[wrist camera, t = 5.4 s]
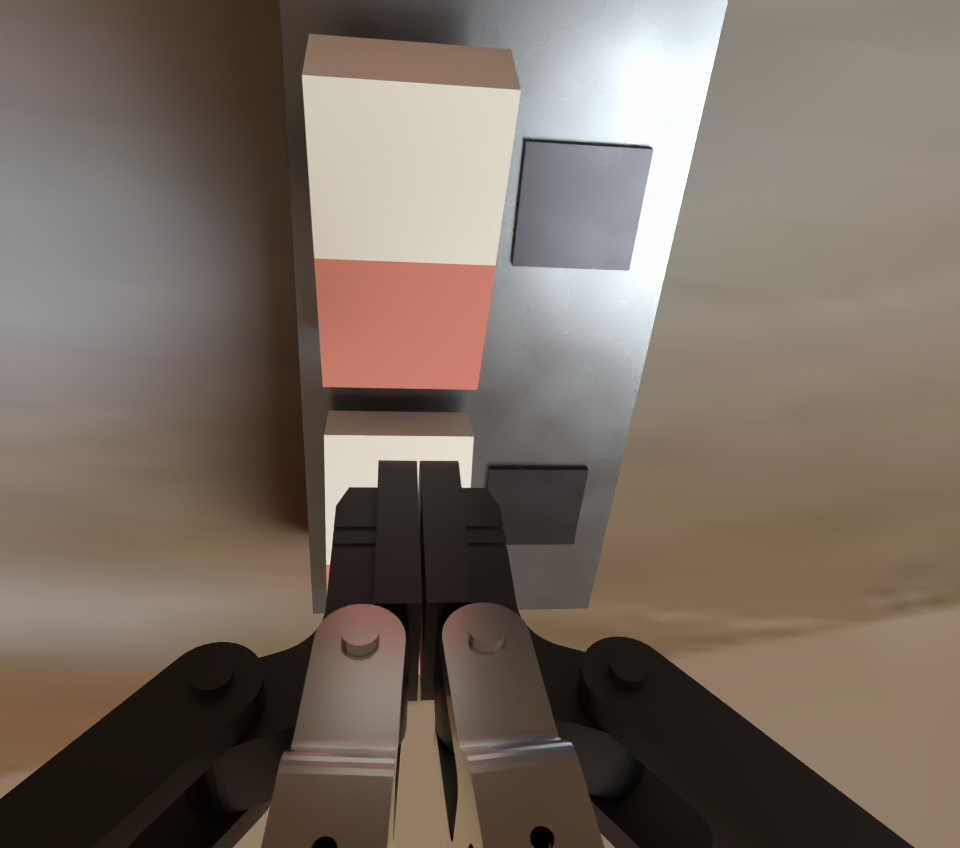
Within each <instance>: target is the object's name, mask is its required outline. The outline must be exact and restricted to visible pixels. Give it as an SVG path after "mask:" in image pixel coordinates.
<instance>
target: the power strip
mask: <svg viewBox="0 0 960 848" xmlns="http://www.w3.org/2000/svg"><path fill="white" fill-rule="evenodd" d="M279 2H280V20H281V38H282V56H283V74H284V92H285V111H286V129H287V147H288V165H289V183H290V201H291V219H292V238H293V256H294V274H295V292H296V310H297V328H298V347H299V365H300V383H301V401H302V419H303V437H304V456H305V474H306V492H307V510H308V528H309V546H310V565H311V583H312V601H313V613H325V610H326V600H327V583H326V524H325V465H324V432H325V427H326V422H327V416H328V411H392V412H461V413H467V414H468V417H469V421H470V425H471V428H472V432H473V436H474V441H473V457H472V474H471V488H486V489H487V490H488V491H489V493H490V494H491V495H492V496H493V498H494V499H495V500H496V502H497V503H498V504H499V505H500V509H501V515H502V521H503V530H504V533H505V538H506V547H507V550H508V556H509V562H510V568H511V573H512V579H513V585H514V591H515V597H516V603H517V608H518V610H522V609H575V608H588V605H589V600H590V596H591V592H592V587H593V583H594V579H595V574H596V570H597V566H598V561H599V557H600V553H601V548H602V544H603V540H604V535H605V531H606V527H607V522H608V518H609V514H610V509H611V505H612V501H613V496H614V492H615V488H616V483H617V479H618V475H619V470H620V466H621V462H622V457H623V453H624V449H625V444H626V440H627V436H628V431H629V427H630V423H631V418H632V414H633V410H634V405H635V401H636V397H637V392H638V388H639V384H640V379H641V375H642V371H643V366H644V362H645V358H646V353H647V349H648V345H649V340H650V336H651V332H652V327H653V323H654V319H655V314H656V310H657V306H658V301H659V297H660V293H661V288H662V284H663V280H664V275H665V271H666V267H667V262H668V258H669V254H670V250H671V245H672V241H673V237H674V232H675V228H676V224H677V219H678V215H679V211H680V206H681V202H682V198H683V193H684V189H685V185H686V180H687V176H688V172H689V167H690V163H691V159H692V154H693V150H694V146H695V141H696V137H697V133H698V128H699V124H700V120H701V115H702V111H703V107H704V102H705V98H706V94H707V89H708V85H709V81H710V76H711V72H712V68H713V63H714V59H715V55H716V50H717V46H718V42H719V37H720V33H721V29H722V24H723V20H724V16H725V11H726V7H727V3H728V0H279ZM309 34H318V35H332V36H345V37H358V38H371V39H384V40H397V41H410V42H423V43H436V44H449V45H462V46H476V47H489V48H502V49H511V51H512V55H513V59H514V63H515V67H516V72H517V76H518V80H519V84H520V88H521V94H520V101H519V107H518V114H517V121H516V128H515V135H514V142H513V149H512V155H511V162H510V169H509V176H508V183H507V190H506V197H505V204H504V210H503V217H502V224H501V231H500V238H499V245H498V252H497V258H496V265H495V272H494V279H493V286H492V293H491V300H490V306H489V313H488V320H487V327H486V334H485V341H484V348H483V355H482V361H481V368H480V375H479V382H478V389H477V390H460V389H406V388H352V387H323V383H322V368H321V353H320V338H319V323H318V308H317V293H316V278H315V263H314V248H313V233H312V218H311V204H310V189H309V174H308V159H307V144H306V129H305V114H304V99H303V84H302V71H303V66H304V60H305V54H306V48H307V42H308V37H309Z"/></svg>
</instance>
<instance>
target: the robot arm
mask: <svg viewBox="0 0 960 848" xmlns="http://www.w3.org/2000/svg"><path fill="white" fill-rule="evenodd" d="M419 653H420V685H421V700H434V704H435V733H434V749H435V757H436V765H437V772H438V780H439V788H440V796H441V804H442V812H443V820H444V828H445V835H446V844H447V848H605V847H604V844H603V840H602V837H601V834H602V835H603V836H604V837H605V838H606V839H607V840H609V842H610V843H611V844H612V845H613V846H614V847H615V848H914V847H913V846H911V845H910V844H909V843H907V842H906V841H905V840H903V839H902V838H901V837H899V836H898V835H897V834H896V833H894V832H893V831H892V830H890V829H889V828H888V827H886V826H885V825H884V824H883V823H881V822H880V821H879V820H877V819H876V818H875V817H873V816H872V815H871V814H869V813H868V812H867V811H865V810H864V809H863V808H861V807H860V806H859V805H857V804H856V803H855V802H854V801H852V800H851V799H850V798H848V797H847V796H846V795H844V794H843V793H842V792H841V791H839V790H838V789H837V788H835V787H834V786H833V785H831V784H830V783H829V782H827V781H826V780H825V779H824V778H822V777H821V776H820V775H818V774H817V773H816V772H814V771H813V770H812V769H810V768H809V767H808V766H806V765H805V764H804V763H803V762H801V761H800V760H798V759H797V758H796V757H795V756H793V755H792V754H791V753H789V752H788V751H786V749H784V748H783V747H781V746H780V745H779V744H778V743H776V742H775V741H774V740H772V739H771V738H770V737H768V736H767V735H765V733H763V732H762V731H761V730H759V729H758V728H757V727H755V726H754V725H753V724H751V723H750V722H749V721H747V720H746V719H745V718H743V717H742V716H741V715H740V714H738V713H737V712H736V711H734V710H733V709H732V708H730V707H729V706H728V705H726V704H725V703H724V702H722V701H721V700H720V699H719V698H717V697H716V696H715V695H713V694H712V693H710V692H709V691H708V690H707V689H706V688H704V687H703V686H702V685H700V684H699V683H698V682H696V681H695V680H694V679H692V678H691V677H690V676H688V675H687V674H686V673H684V672H683V671H682V670H681V669H679V668H678V667H677V666H675V665H674V664H673V663H671V662H670V661H669V660H667V659H666V658H665V657H664V656H662V655H661V654H660V653H658V652H657V651H656V650H654V649H653V648H651V647H650V646H648V645H647V644H645V643H643V642H641V641H638V640H635V639H631V638H627V637H609V638H604V639H601V640H599V641H597V642H595V643H594V644H592V645H591V646H590V647H589V648H588V649H587V651H586V652H583V651H579V650H575V649H571V648H568V647H564V646H560V645H557V644H554V643H551V642H549V641H547V640H545V639H543V638H541V637H540V636H538V635H537V634H535V633H534V632H533V631H532V630H531V629H530V628H529V627H528V626H527V625H526V624H525V622H524V621H523V620H522V618H521V616H520V614H519V611H518V608H517V603H516V597H515V591H514V585H513V579H512V573H511V568H510V562H509V556H508V550H507V547H506V538H505V533H504V530H503V521H502V515H501V509H500V505H499V504H498V503H497V502H496V500H495V499H494V498H493V496H492V495H491V494H490V493H489V491H488V490H487V489H486V488H462V487H461V478H460V469H459V462H458V461H420V464H419V485H418V475H417V461H398V460H378V487H349V488H348V490H347V491H346V493H345V494H344V495H343V497H342V498H341V499H340V501H339V502H338V504H337V505H336V510H335V520H334V531H333V540H332V550H331V560H330V570H329V580H328V590H327V600H326V610H325V614H324V617H323V620H322V622H321V623H320V625H319V627H318V628H317V629H316V631H315V632H314V633H313V634H312V635H311V636H310V637H308V638H307V639H306V640H305V641H303V642H301V643H300V644H298V645H296V646H294V647H292V648H290V649H287V650H284V651H281V652H278V653H274V654H271V655H267V656H264V657H261V658H258V657H257V656H256V654H255V653H253V652H252V651H251V650H250V649H248V648H246V647H244V646H242V645H239V644H236V643H230V642H216V643H210V644H205V645H202V646H199V647H196V648H194V649H192V650H190V651H188V652H187V653H185V654H184V655H182V656H181V657H179V658H178V659H177V660H176V661H174V662H173V663H172V664H170V665H169V666H168V667H167V668H165V669H164V670H163V671H162V672H160V673H159V674H158V675H157V676H155V677H154V678H153V679H151V680H150V681H149V682H148V683H146V684H145V685H144V686H143V687H141V688H140V689H139V690H138V691H136V692H135V693H134V694H132V695H131V696H130V697H129V698H127V699H126V700H125V701H124V702H122V703H121V704H120V705H119V706H117V707H116V708H115V709H114V710H112V711H111V712H110V713H108V714H107V715H106V716H105V717H103V718H102V719H101V720H100V721H98V722H97V723H96V724H95V725H93V726H92V727H91V728H89V729H88V730H87V731H86V732H84V733H83V734H82V735H81V736H79V737H78V738H77V739H76V740H74V741H73V742H72V743H70V744H69V745H68V746H67V747H65V748H64V749H63V750H62V751H60V752H59V753H58V754H57V755H55V756H54V757H53V758H52V759H50V760H49V761H48V762H46V763H45V764H44V765H43V766H41V767H40V768H39V769H38V770H36V771H35V772H34V773H33V774H31V775H30V776H29V777H27V778H26V779H25V780H24V781H22V782H21V783H20V784H19V785H17V786H16V787H15V788H14V789H12V790H11V791H10V792H9V793H7V794H6V795H5V796H3V797H2V798H1V799H0V848H233V847H234V846H235V845H236V844H237V842H238V841H239V840H240V839H241V838H242V837H243V836H244V835H245V834H246V833H247V832H248V831H249V829H251V827H252V826H253V825H254V824H255V823H256V822H257V821H258V820H259V819H260V818H261V817H262V815H263V814H264V813H265V812H266V810H267V809H268V808H269V806H270V809H269V814H268V818H267V823H266V827H265V832H264V837H263V841H262V846H261V848H394V840H395V827H396V814H397V801H398V788H399V775H400V762H401V749H402V741H403V738H404V736H405V733H406V725H407V704H408V701H417V690H418V672H419ZM600 833H601V834H600Z"/></svg>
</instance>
